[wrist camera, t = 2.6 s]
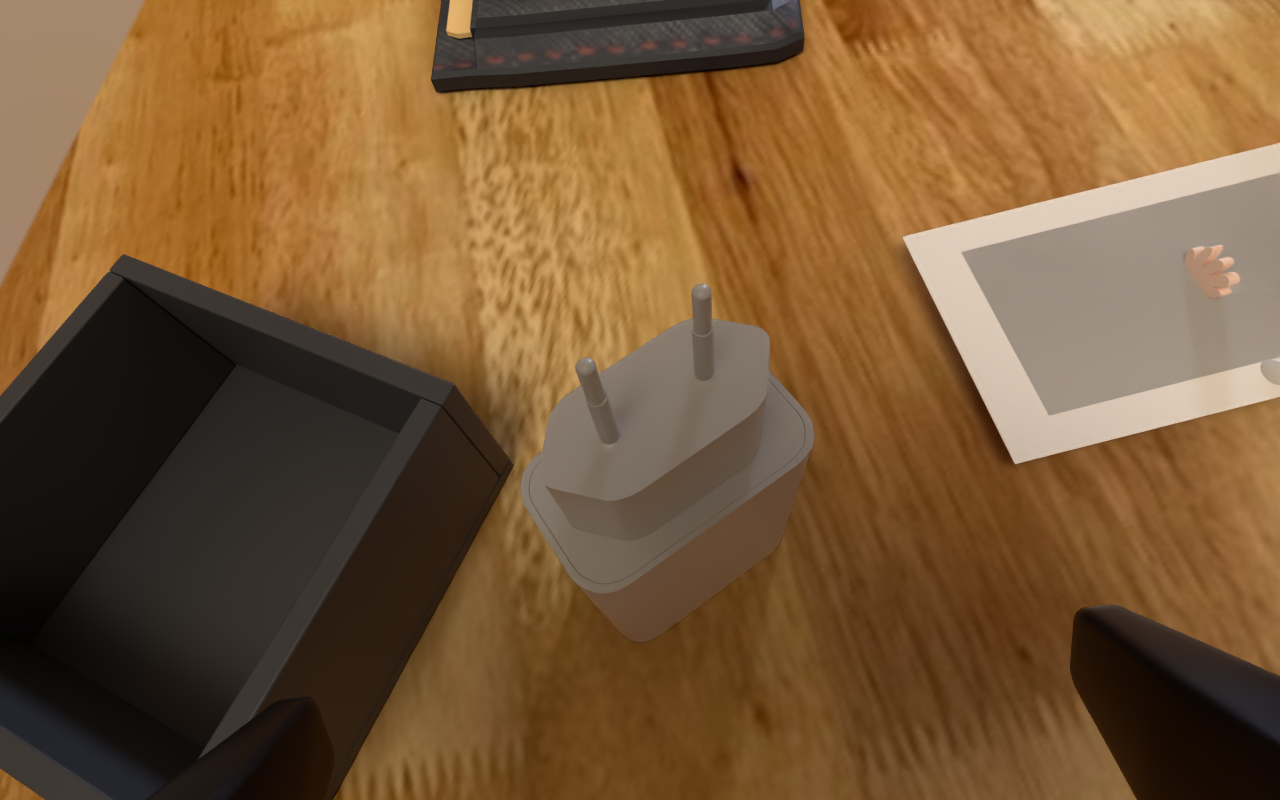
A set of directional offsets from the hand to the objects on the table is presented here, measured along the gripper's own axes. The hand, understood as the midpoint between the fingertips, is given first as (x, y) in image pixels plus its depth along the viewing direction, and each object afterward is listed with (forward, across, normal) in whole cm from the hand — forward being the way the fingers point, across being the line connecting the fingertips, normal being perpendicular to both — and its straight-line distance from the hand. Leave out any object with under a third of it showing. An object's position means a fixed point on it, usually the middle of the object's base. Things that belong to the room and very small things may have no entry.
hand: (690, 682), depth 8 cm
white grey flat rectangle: (+15, -16, +1) cm, 22 cm away
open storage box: (+12, +12, +4) cm, 17 cm away
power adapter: (+11, 0, +5) cm, 12 cm away
